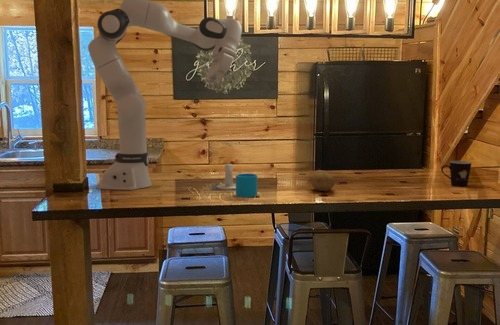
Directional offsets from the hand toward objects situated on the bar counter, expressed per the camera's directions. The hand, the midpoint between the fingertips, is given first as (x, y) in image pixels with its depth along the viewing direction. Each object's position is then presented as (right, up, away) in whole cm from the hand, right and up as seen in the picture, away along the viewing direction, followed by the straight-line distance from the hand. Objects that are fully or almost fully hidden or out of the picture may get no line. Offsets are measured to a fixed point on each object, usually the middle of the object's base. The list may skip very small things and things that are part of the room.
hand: (212, 85), depth 218 cm
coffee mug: (+103, -42, +9) cm, 112 cm away
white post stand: (+6, -42, +1) cm, 42 cm away
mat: (+6, -42, +1) cm, 43 cm away
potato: (+45, -43, -3) cm, 62 cm away
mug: (+14, -45, -11) cm, 48 cm away
